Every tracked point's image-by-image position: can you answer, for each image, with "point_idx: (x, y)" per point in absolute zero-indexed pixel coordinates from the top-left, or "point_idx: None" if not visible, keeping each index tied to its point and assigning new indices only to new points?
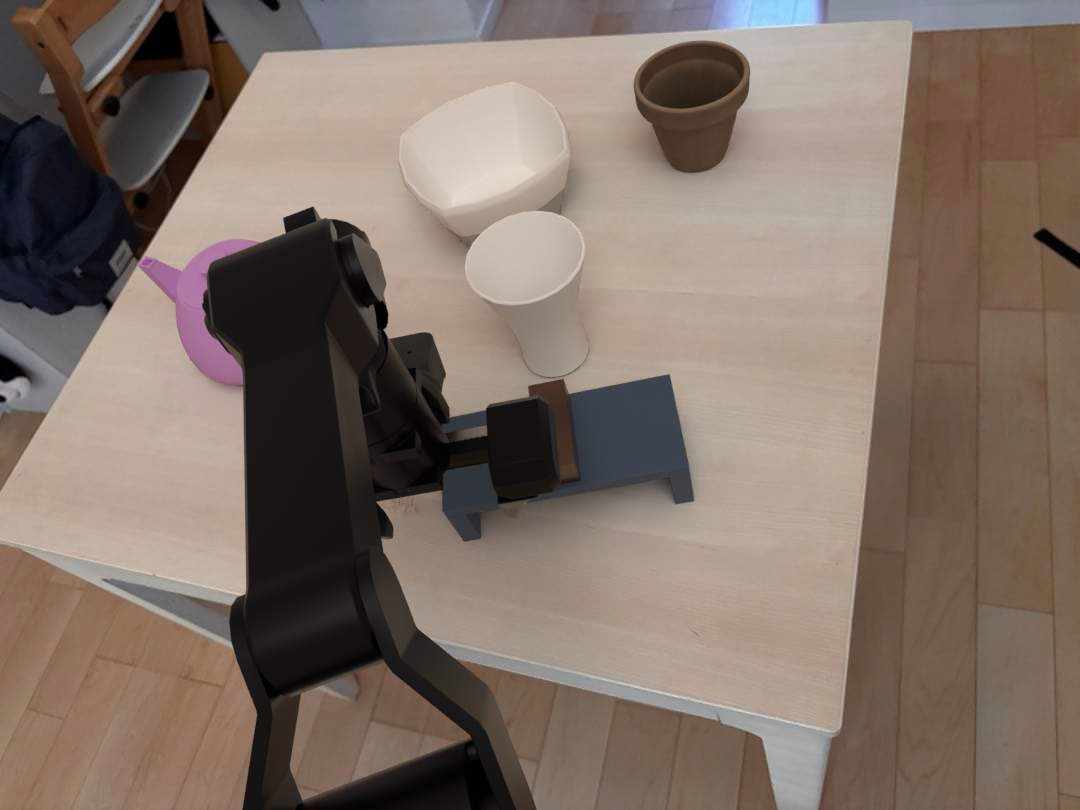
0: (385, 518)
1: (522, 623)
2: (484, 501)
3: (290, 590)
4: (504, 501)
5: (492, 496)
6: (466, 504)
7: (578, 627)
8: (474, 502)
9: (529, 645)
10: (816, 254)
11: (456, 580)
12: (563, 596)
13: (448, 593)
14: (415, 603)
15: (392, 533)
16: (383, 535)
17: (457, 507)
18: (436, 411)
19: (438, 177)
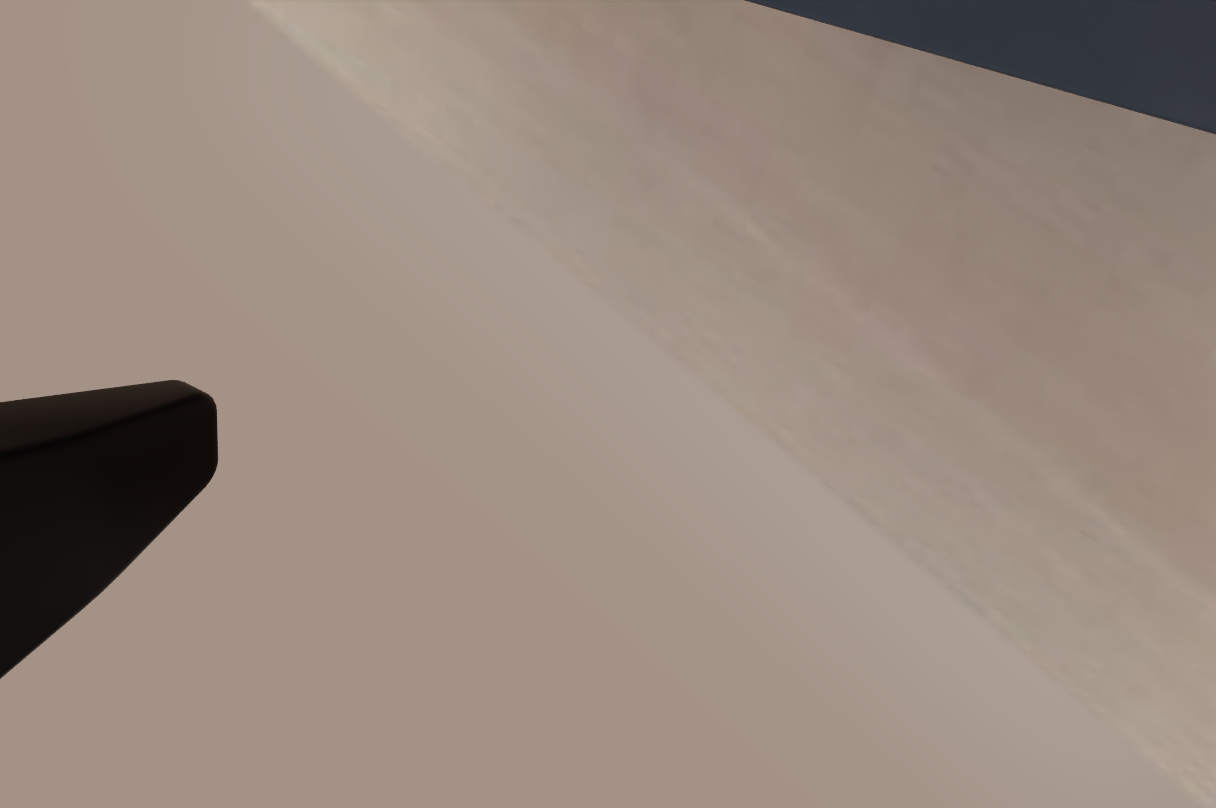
0: (72, 489)
1: (932, 448)
2: (1008, 54)
3: None
4: None
5: (1087, 41)
6: (873, 15)
7: (1143, 585)
8: (935, 23)
9: (920, 529)
10: None
11: (739, 138)
12: (1161, 450)
13: (691, 178)
14: (558, 152)
15: (204, 455)
16: (70, 612)
17: (805, 10)
18: None
19: None
